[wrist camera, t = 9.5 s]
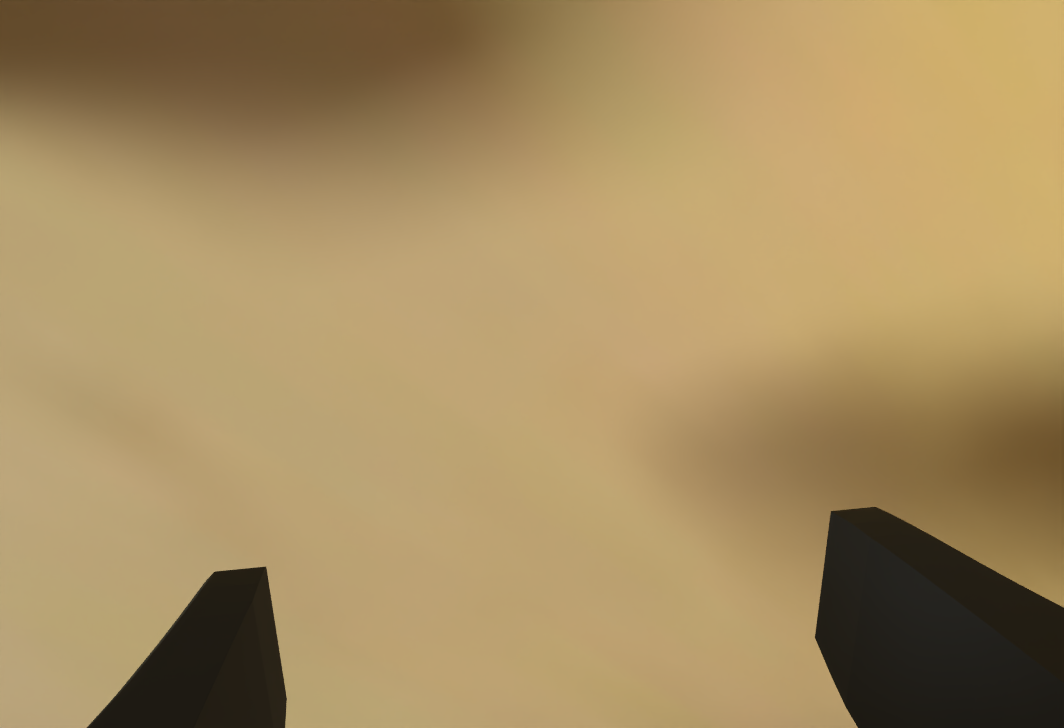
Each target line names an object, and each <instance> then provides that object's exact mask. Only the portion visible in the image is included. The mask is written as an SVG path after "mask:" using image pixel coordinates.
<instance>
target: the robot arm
mask: <svg viewBox="0 0 1064 728" xmlns="http://www.w3.org/2000/svg"><path fill="white" fill-rule="evenodd" d="M815 639H816V641H817V643H818V646H819V648H820V650H821V653H822V655H823V657H824V660H825V662H826V664H827V667H828V669H829V672H830V674H831V676H832V678H833V680H834V683H835V685H836V687H837V689H838V691H839V693H840V696H841V698H842V700H843V702H844V704H845V706H846V708H847V710H848V711H849V713H850V715H851V716H852V718H853V720H854V722H855V723H856V725H857V727H858V728H1064V608H1063V607H1061V606H1059V605H1058V604H1056V603H1054V602H1052V601H1050V600H1048V599H1046V598H1044V597H1042V596H1040V595H1038V594H1036V593H1034V592H1033V591H1031V590H1029V589H1027V588H1025V587H1023V586H1021V585H1019V584H1018V583H1016V582H1014V581H1012V580H1010V579H1008V578H1006V577H1005V576H1003V575H1001V574H999V573H997V572H996V571H994V570H992V569H990V568H988V567H986V566H985V565H983V564H981V563H979V562H977V561H976V560H974V559H972V558H970V557H968V556H967V555H965V554H963V553H961V552H960V551H958V550H956V549H954V548H952V547H951V546H949V545H947V544H945V543H943V542H942V541H940V540H938V539H936V538H935V537H933V536H931V535H929V534H927V533H925V532H924V531H922V530H920V529H918V528H916V527H914V526H913V525H911V524H909V523H907V522H905V521H903V520H901V519H899V518H897V517H895V516H893V515H891V514H889V513H887V512H885V511H883V510H881V509H879V508H876V507H870V508H860V509H849V510H839V511H831V515H830V523H829V531H828V539H827V547H826V555H825V563H824V571H823V579H822V586H821V594H820V602H819V610H818V618H817V626H816V634H815ZM286 701H287V698H286V691H285V685H284V678H283V672H282V666H281V659H280V653H279V646H278V640H277V634H276V627H275V621H274V614H273V608H272V601H271V595H270V589H269V582H268V576H267V569H266V567H258V568H248V569H238V570H228V571H217V572H214V573H213V574H212V575H211V576H210V577H209V578H208V579H207V580H206V582H205V583H204V584H203V586H202V587H201V588H200V590H199V591H198V592H197V594H196V595H195V596H194V598H193V599H192V600H191V602H190V603H189V604H188V606H187V607H186V608H185V610H184V611H183V612H182V614H181V615H180V616H179V618H178V619H177V620H176V621H175V623H174V624H173V625H172V627H171V628H170V629H169V631H168V632H167V633H166V634H165V636H164V637H163V638H162V640H161V641H160V642H159V643H158V645H157V646H156V647H155V649H154V650H153V651H152V652H151V653H150V655H149V656H148V657H147V658H146V660H145V661H144V662H143V663H142V664H141V666H140V667H139V668H138V669H137V671H136V672H135V673H134V674H133V675H132V677H131V678H130V679H129V680H128V681H127V683H126V684H125V685H124V686H123V688H122V689H121V690H120V691H119V692H118V694H117V695H116V696H115V697H114V698H113V699H112V700H111V702H110V703H109V704H108V705H107V706H106V707H105V708H104V709H103V710H102V712H101V713H100V714H99V715H98V716H97V717H96V718H95V719H94V720H93V721H92V723H91V724H90V725H89V726H88V727H87V728H285V719H286Z"/></svg>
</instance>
